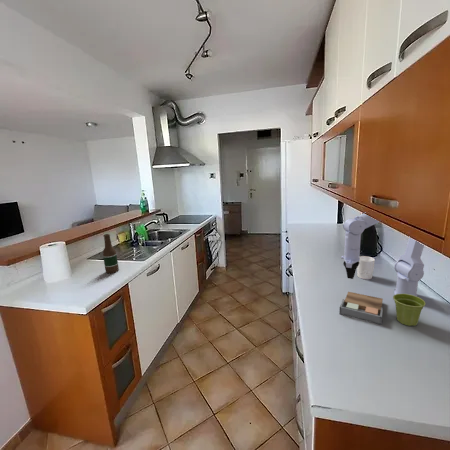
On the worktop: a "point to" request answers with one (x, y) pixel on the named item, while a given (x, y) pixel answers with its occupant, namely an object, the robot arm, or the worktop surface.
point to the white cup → (365, 267)
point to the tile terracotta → (371, 310)
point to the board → (364, 301)
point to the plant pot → (408, 308)
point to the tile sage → (352, 306)
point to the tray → (360, 314)
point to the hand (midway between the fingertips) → (350, 278)
